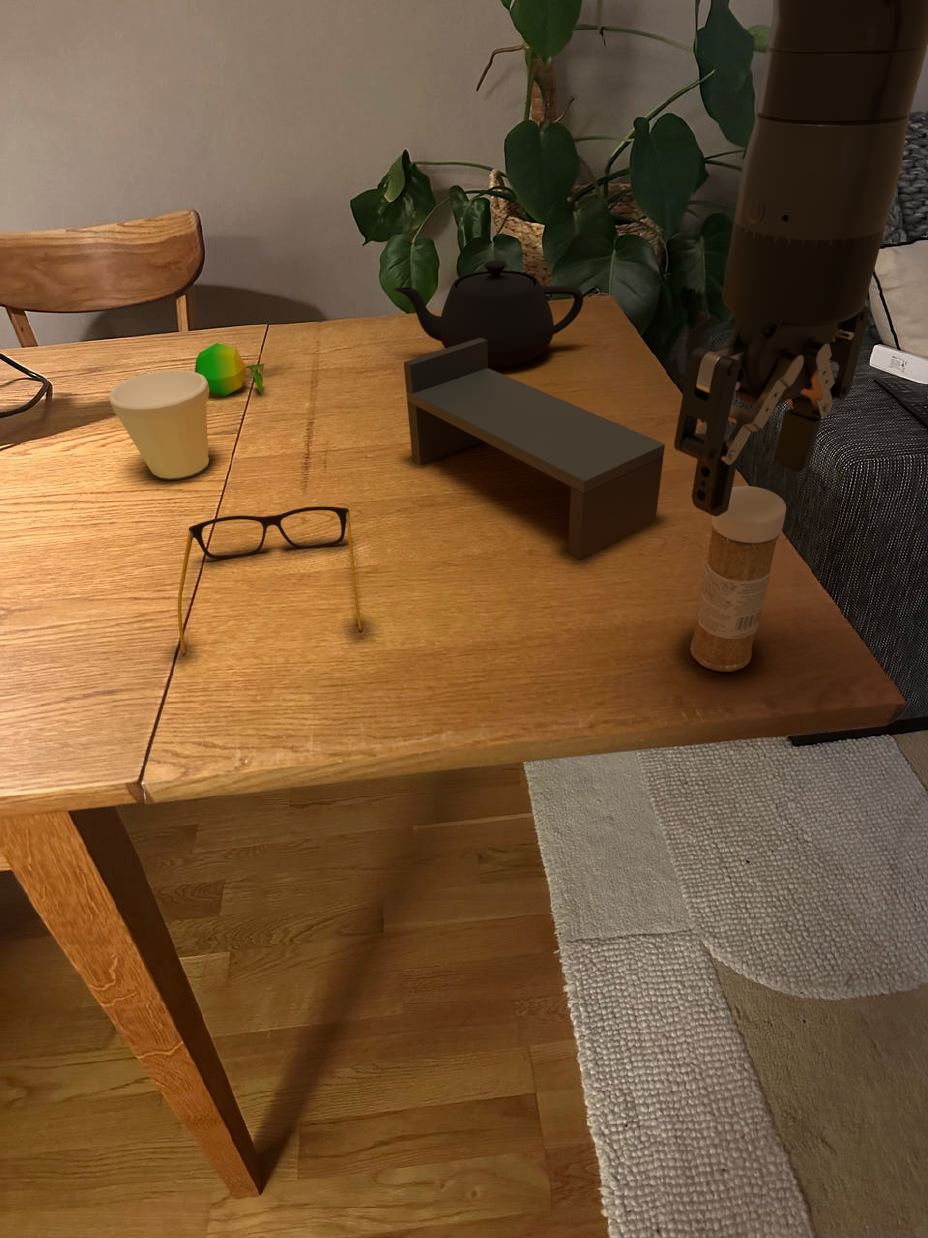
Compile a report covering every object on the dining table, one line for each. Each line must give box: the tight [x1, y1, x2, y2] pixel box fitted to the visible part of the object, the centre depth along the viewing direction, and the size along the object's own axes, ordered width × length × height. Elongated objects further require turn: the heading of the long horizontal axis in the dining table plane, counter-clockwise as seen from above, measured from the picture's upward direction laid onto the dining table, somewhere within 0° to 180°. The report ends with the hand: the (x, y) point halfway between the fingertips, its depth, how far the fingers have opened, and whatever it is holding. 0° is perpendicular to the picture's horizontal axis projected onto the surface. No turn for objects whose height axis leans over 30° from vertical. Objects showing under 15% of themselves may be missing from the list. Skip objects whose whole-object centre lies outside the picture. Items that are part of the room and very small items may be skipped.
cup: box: [107, 369, 210, 481], centre depth 86 cm, size 10×10×9 cm
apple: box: [194, 342, 265, 397], centre depth 104 cm, size 7×6×9 cm
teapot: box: [393, 259, 584, 370], centre depth 108 cm, size 25×16×12 cm, turn 93°
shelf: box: [403, 338, 666, 561], centre depth 79 cm, size 26×10×11 cm, turn 38°
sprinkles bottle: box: [689, 485, 787, 673], centre depth 57 cm, size 5×5×14 cm
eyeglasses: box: [177, 505, 362, 654], centre depth 69 cm, size 14×14×4 cm
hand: (751, 487), depth 52 cm, fingers open, 8 cm apart
